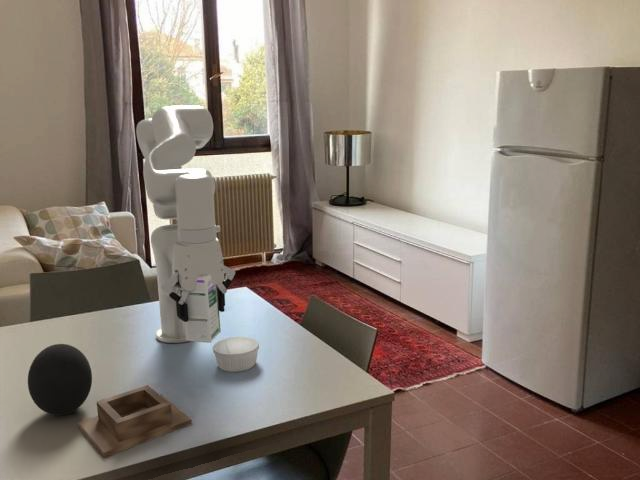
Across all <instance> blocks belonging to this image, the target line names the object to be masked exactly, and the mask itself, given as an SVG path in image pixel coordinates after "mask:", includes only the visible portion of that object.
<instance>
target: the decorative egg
mask: <svg viewBox="0 0 640 480" xmlns="http://www.w3.org/2000/svg"><path fill="white" fill-rule="evenodd" d="M92 373H93V372H92V368H91V365H90V363H89V360H88V358H87V357H86V356H85V354H84V353H83V352H82V351H81V350H79V349H78V348H76V347H75V346H72V345H71V344H67V343H57V344H52V345H49V346H47V347H45V348H44V349H42V350H41V351H40V352H39V353H38V354H37V355H36V356H35V357H34V358H33V361H32V362H31V365H30V366H29V370H28V373H27V388H28V392H29V395H30V398H31V399H32V401H33V403H34V404H35V405H36V406H37V407H38V408H39V409H40V410H41V411H43V412H45V413H47V414H49V415H52V416H65V415H68V414H71V413H73V412H75V411H76V410H78V409H79V408H80V407H81V406H82V405H83V404H84V403H85V401H86V400H87V398H88V397H89V396H90V395H89V394H90V392H91V389H92V385H93V384H92V383H93V374H92Z"/></svg>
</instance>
